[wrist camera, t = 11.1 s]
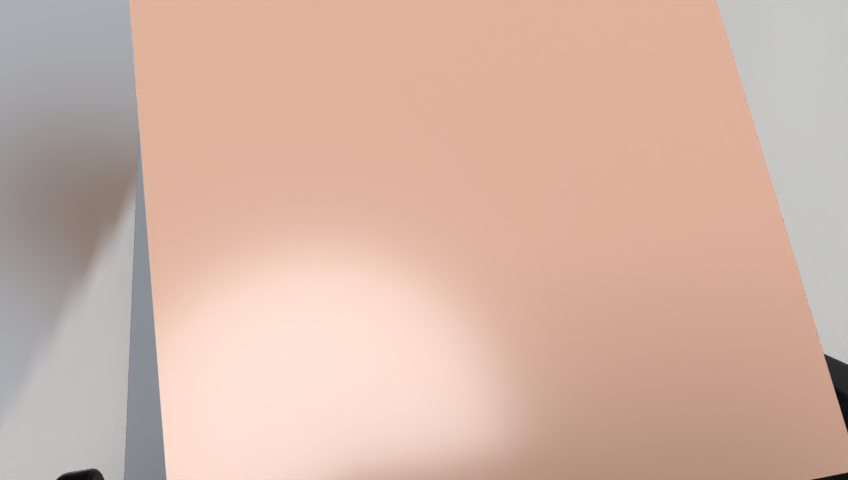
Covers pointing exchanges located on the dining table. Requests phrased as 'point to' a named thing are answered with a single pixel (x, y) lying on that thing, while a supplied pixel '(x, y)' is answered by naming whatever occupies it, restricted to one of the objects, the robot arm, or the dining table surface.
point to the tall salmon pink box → (469, 246)
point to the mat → (143, 362)
